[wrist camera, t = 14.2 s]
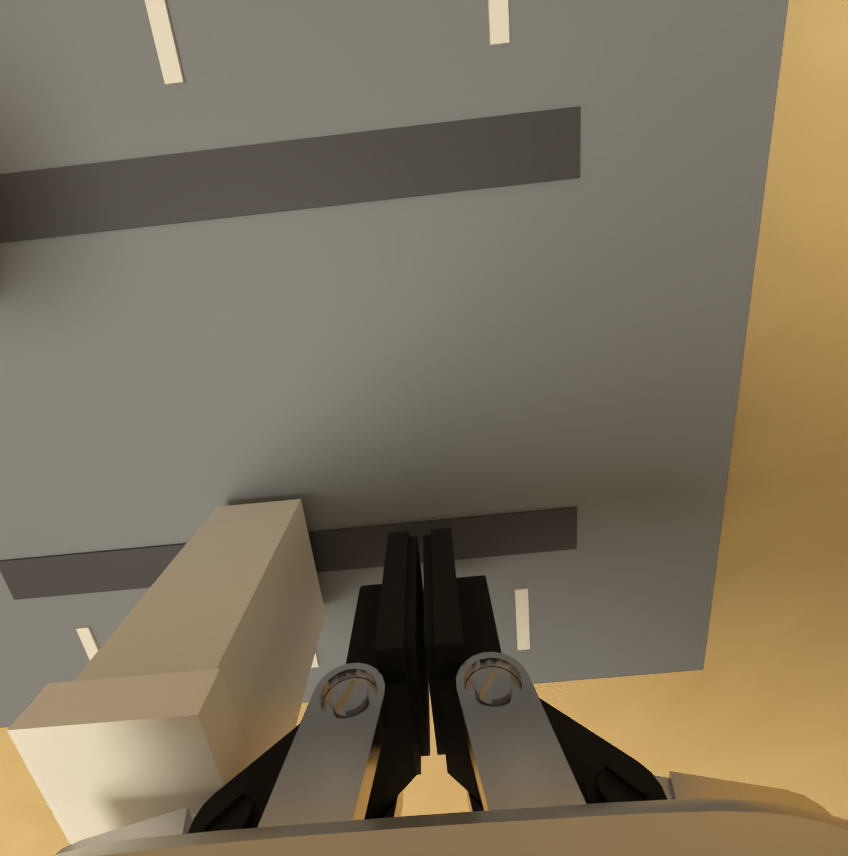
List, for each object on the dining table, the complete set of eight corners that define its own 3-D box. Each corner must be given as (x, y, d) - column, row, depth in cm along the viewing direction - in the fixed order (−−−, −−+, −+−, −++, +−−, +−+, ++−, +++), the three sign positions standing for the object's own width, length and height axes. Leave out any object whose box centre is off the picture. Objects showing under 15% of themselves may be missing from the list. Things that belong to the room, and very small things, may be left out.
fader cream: (306, 491, 13) (197, 714, 7) (333, 618, 15) (264, 899, 8) (207, 501, 13) (6, 730, 7) (243, 626, 15) (107, 910, 8)
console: (749, -170, 10) (825, -270, 8) (673, 626, 18) (704, 671, 16) (-452, -12, 11) (-638, -69, 9) (-46, 687, 19) (-101, 738, 17)
